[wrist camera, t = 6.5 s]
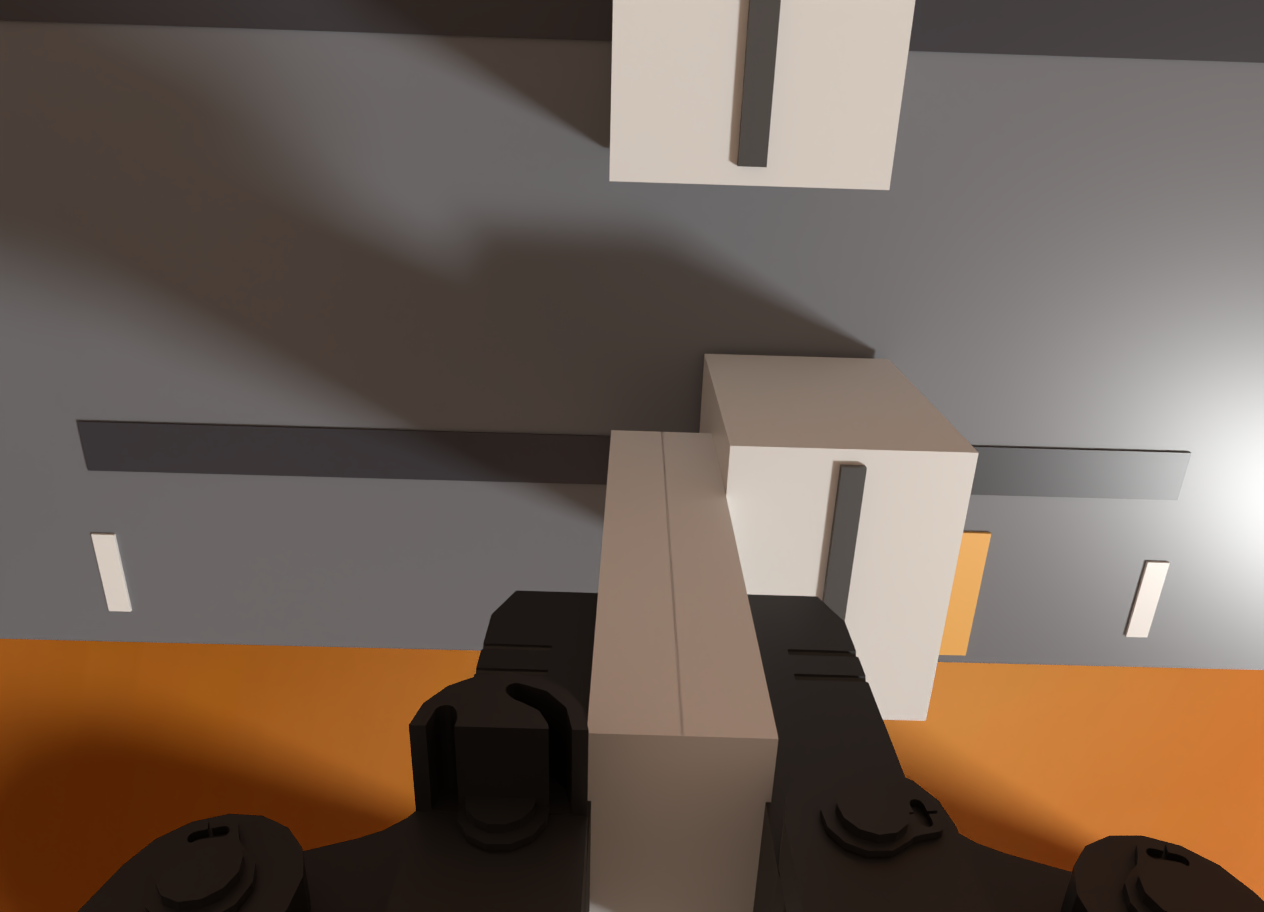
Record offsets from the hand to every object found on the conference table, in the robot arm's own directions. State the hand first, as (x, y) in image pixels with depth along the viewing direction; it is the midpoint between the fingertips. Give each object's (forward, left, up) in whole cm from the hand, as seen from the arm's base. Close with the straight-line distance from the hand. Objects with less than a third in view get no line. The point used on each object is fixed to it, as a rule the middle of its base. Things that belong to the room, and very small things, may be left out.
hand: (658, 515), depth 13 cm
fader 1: (+1, +7, -2) cm, 7 cm away
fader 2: (+2, 0, -2) cm, 3 cm away
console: (0, +3, -4) cm, 5 cm away
